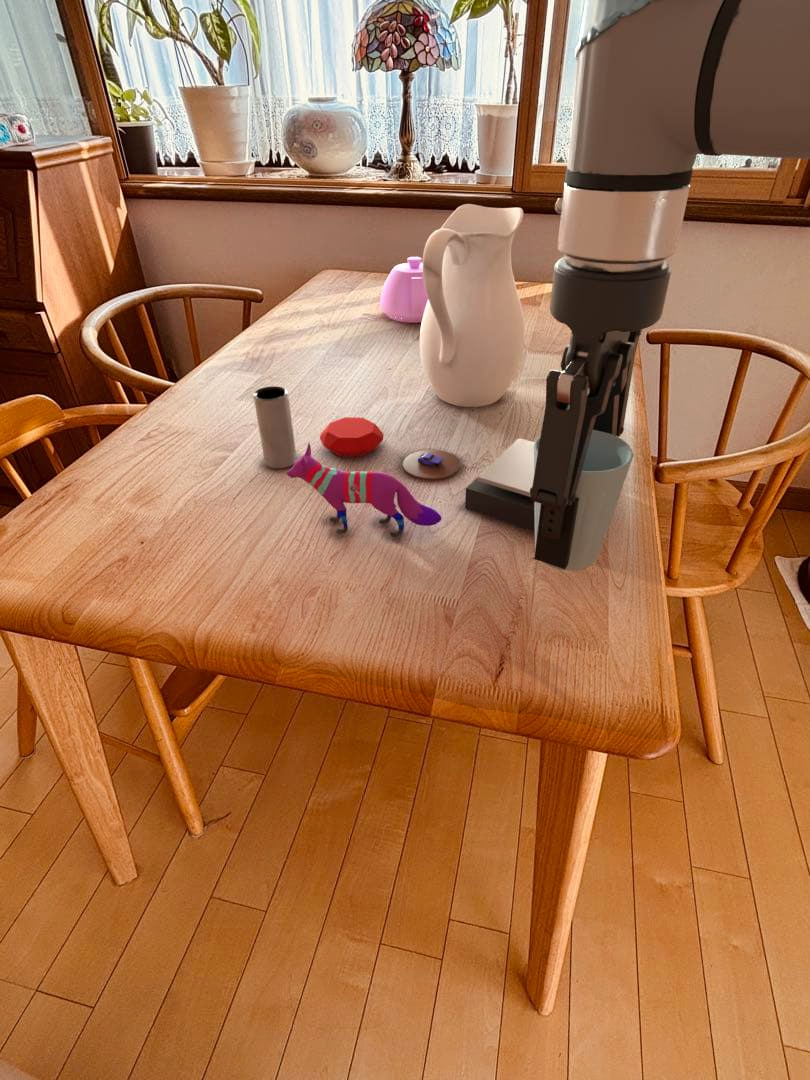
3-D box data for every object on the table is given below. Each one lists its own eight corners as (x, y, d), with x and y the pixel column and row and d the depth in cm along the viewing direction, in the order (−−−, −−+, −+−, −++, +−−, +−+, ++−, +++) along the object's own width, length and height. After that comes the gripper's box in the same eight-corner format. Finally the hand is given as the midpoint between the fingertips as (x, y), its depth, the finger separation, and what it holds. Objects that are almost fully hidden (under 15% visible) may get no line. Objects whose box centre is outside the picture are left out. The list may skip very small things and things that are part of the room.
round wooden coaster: (446, 485, 83) (446, 476, 82) (392, 472, 86) (392, 463, 85) (468, 459, 88) (469, 449, 87) (418, 447, 91) (418, 438, 90)
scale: (610, 489, 82) (617, 459, 79) (572, 543, 72) (577, 512, 70) (511, 461, 88) (514, 433, 85) (464, 508, 78) (466, 478, 76)
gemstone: (390, 454, 90) (390, 435, 88) (330, 465, 87) (328, 446, 86) (372, 428, 97) (371, 410, 95) (316, 437, 94) (314, 419, 93)
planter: (294, 451, 91) (285, 384, 85) (298, 466, 87) (289, 397, 81) (263, 455, 90) (252, 388, 84) (266, 471, 86) (254, 401, 80)
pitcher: (449, 368, 116) (454, 200, 99) (534, 386, 109) (555, 208, 92) (378, 417, 100) (370, 225, 83) (472, 442, 92) (484, 237, 76)
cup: (547, 587, 52) (563, 478, 46) (508, 537, 58) (517, 435, 52) (627, 569, 54) (652, 462, 47) (581, 522, 60) (598, 421, 53)
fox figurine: (297, 516, 77) (286, 441, 71) (442, 522, 76) (444, 447, 70) (289, 533, 74) (278, 457, 68) (440, 540, 73) (442, 463, 67)
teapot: (453, 328, 135) (455, 269, 127) (381, 330, 134) (379, 271, 127) (443, 299, 152) (444, 245, 145) (379, 301, 152) (377, 247, 144)
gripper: (606, 228, 50) (569, 476, 63) (494, 286, 36) (477, 587, 50) (705, 235, 46) (643, 496, 60) (623, 303, 33) (567, 621, 46)
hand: (568, 537), depth 55 cm, fingers closed on cup, 7 cm apart
